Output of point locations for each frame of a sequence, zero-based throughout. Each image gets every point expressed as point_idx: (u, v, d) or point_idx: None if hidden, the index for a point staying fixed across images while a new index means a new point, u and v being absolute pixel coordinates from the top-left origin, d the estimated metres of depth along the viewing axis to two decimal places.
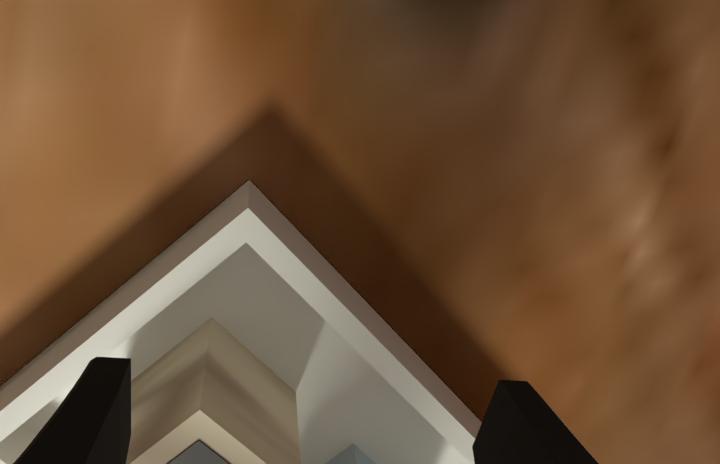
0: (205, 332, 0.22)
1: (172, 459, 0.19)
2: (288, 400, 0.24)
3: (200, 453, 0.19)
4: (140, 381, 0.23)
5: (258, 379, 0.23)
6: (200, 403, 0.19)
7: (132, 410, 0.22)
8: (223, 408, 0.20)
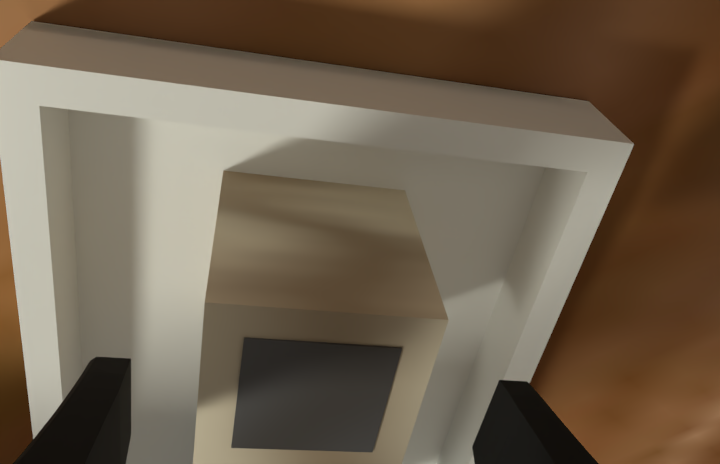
0: (401, 205, 0.16)
1: (348, 343, 0.12)
2: None
3: (383, 362, 0.13)
4: (273, 187, 0.15)
5: None
6: None
7: (273, 222, 0.14)
8: None
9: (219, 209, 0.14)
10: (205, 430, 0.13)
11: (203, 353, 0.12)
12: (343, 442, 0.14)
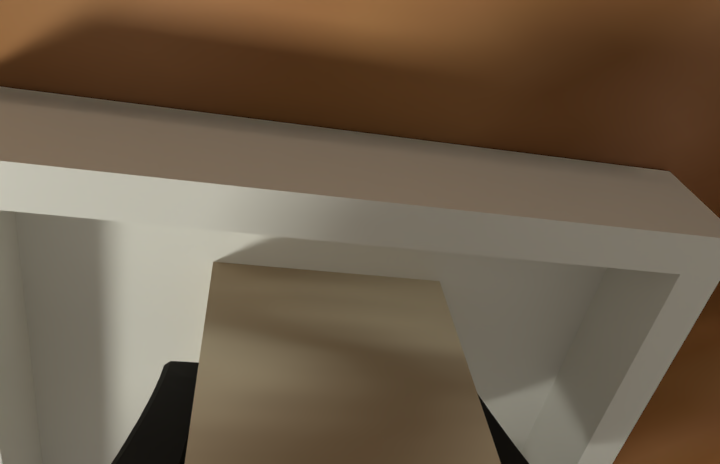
0: (437, 305, 0.13)
1: None
2: None
3: None
4: (275, 285, 0.12)
5: None
6: None
7: (275, 341, 0.11)
8: None
9: (206, 325, 0.11)
10: None
11: None
12: None
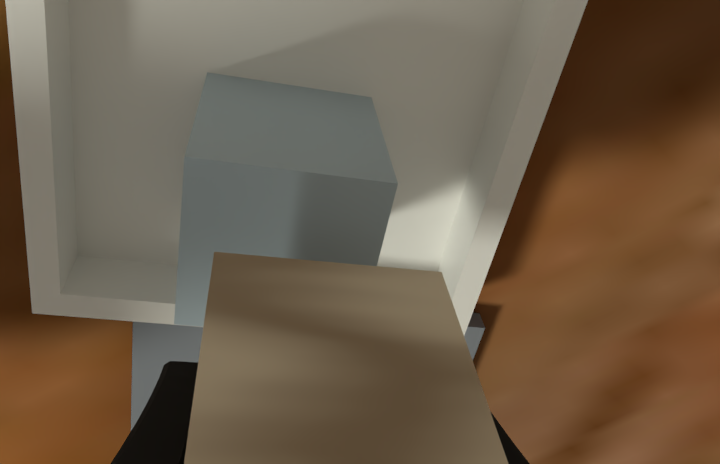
0: (439, 295, 0.13)
1: None
2: None
3: None
4: (277, 275, 0.12)
5: None
6: None
7: (277, 331, 0.11)
8: None
9: (207, 313, 0.11)
10: None
11: None
12: None
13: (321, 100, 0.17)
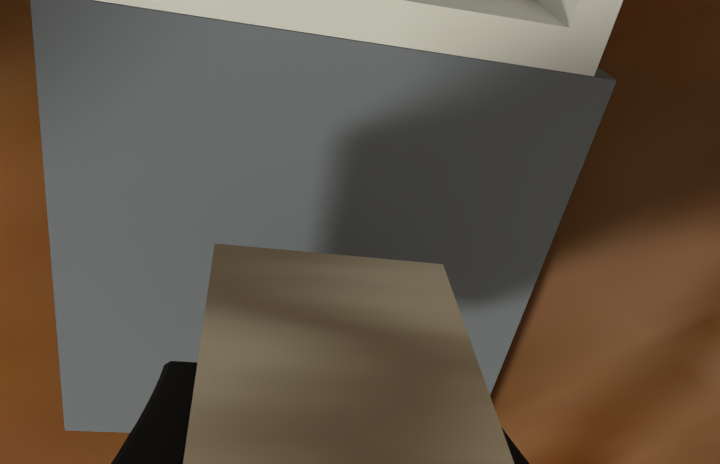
0: (440, 287, 0.12)
1: None
2: None
3: None
4: (278, 267, 0.12)
5: None
6: (512, 459, 0.09)
7: (278, 321, 0.11)
8: None
9: (208, 304, 0.11)
10: None
11: None
12: None
13: None
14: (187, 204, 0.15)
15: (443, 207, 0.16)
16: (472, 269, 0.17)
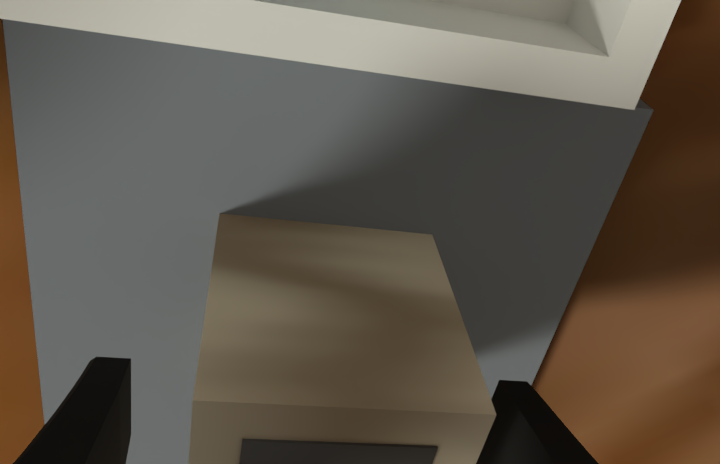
0: (429, 254, 0.13)
1: (372, 443, 0.10)
2: None
3: (414, 463, 0.10)
4: (278, 234, 0.13)
5: None
6: None
7: (278, 281, 0.12)
8: None
9: (213, 266, 0.12)
10: None
11: (192, 457, 0.10)
12: None
13: None
14: (180, 243, 0.14)
15: (460, 245, 0.14)
16: (491, 310, 0.15)
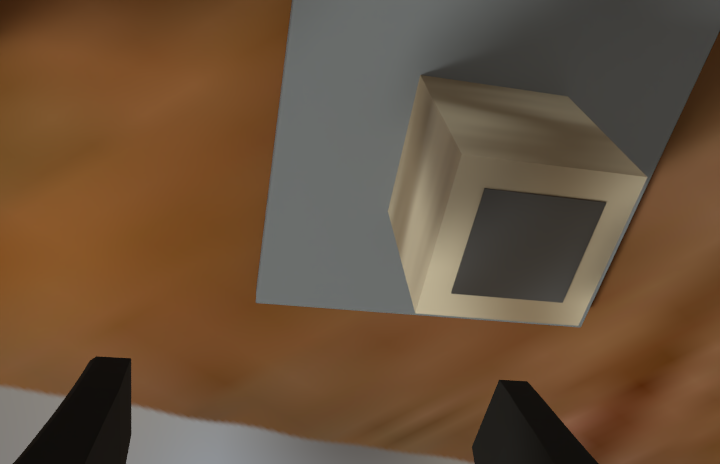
0: (571, 105, 0.19)
1: (564, 197, 0.15)
2: None
3: (589, 215, 0.15)
4: (465, 88, 0.18)
5: None
6: (641, 171, 0.15)
7: (480, 109, 0.17)
8: None
9: (434, 99, 0.17)
10: (434, 276, 0.16)
11: (449, 202, 0.15)
12: (541, 292, 0.17)
13: None
14: (389, 99, 0.19)
15: (587, 106, 0.20)
16: None
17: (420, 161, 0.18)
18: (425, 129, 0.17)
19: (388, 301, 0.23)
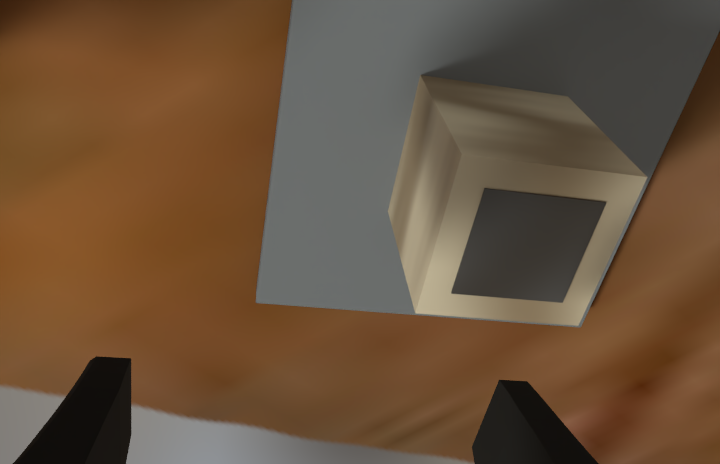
0: (571, 105, 0.19)
1: (564, 197, 0.15)
2: None
3: (589, 215, 0.15)
4: (465, 88, 0.18)
5: None
6: (641, 171, 0.15)
7: (480, 109, 0.17)
8: None
9: (434, 99, 0.17)
10: (434, 276, 0.16)
11: (449, 202, 0.15)
12: (541, 292, 0.17)
13: None
14: (389, 99, 0.19)
15: (587, 106, 0.20)
16: None
17: (420, 161, 0.18)
18: (425, 129, 0.17)
19: (388, 301, 0.23)
